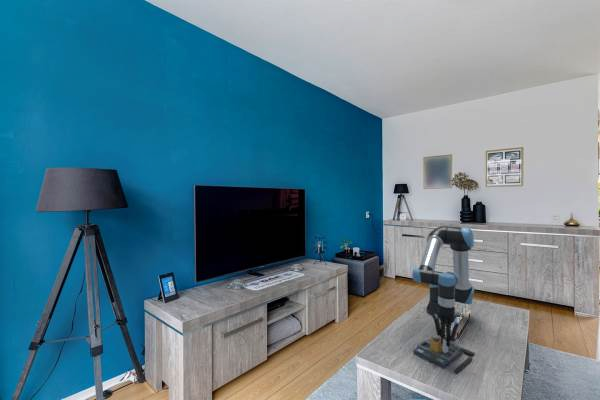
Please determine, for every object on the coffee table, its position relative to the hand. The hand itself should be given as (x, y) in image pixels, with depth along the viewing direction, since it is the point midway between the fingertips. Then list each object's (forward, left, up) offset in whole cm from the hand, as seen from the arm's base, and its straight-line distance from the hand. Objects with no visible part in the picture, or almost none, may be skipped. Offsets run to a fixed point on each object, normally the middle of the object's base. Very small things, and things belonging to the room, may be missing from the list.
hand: (445, 351), depth 139 cm
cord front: (-14, -3, -4) cm, 15 cm away
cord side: (-2, +8, -4) cm, 9 cm away
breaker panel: (-2, -5, -4) cm, 7 cm away
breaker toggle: (0, -5, -2) cm, 5 cm away
